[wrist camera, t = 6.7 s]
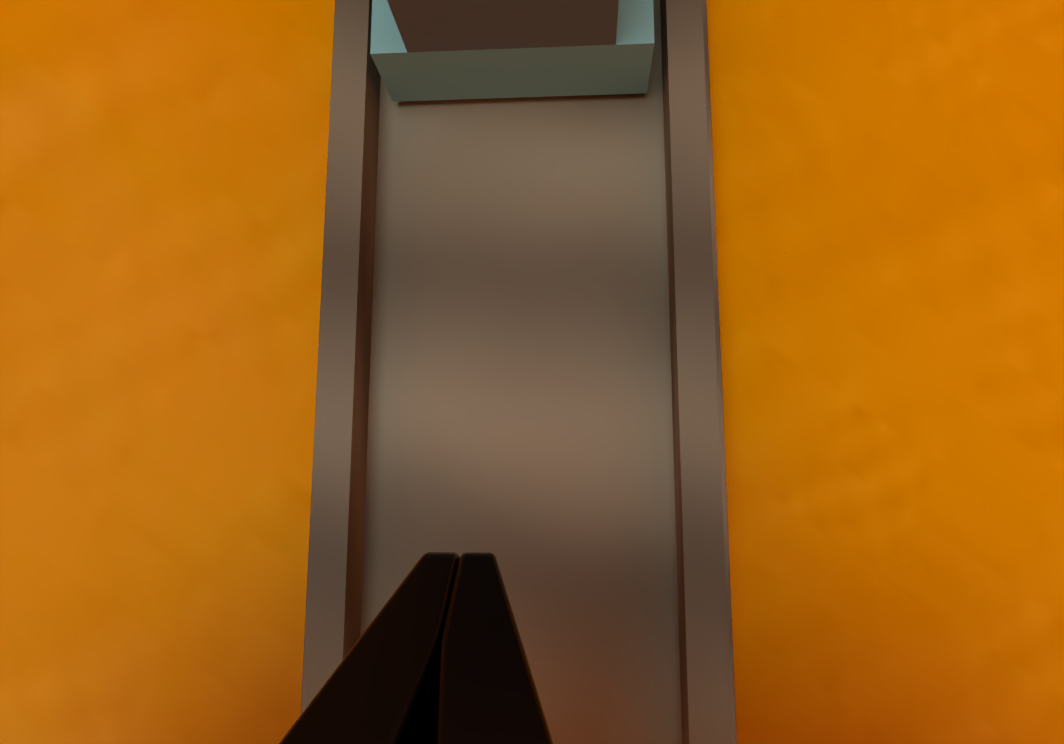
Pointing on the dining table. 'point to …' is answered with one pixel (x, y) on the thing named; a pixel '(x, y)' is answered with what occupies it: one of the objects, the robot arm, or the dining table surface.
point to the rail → (531, 380)
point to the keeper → (511, 48)
